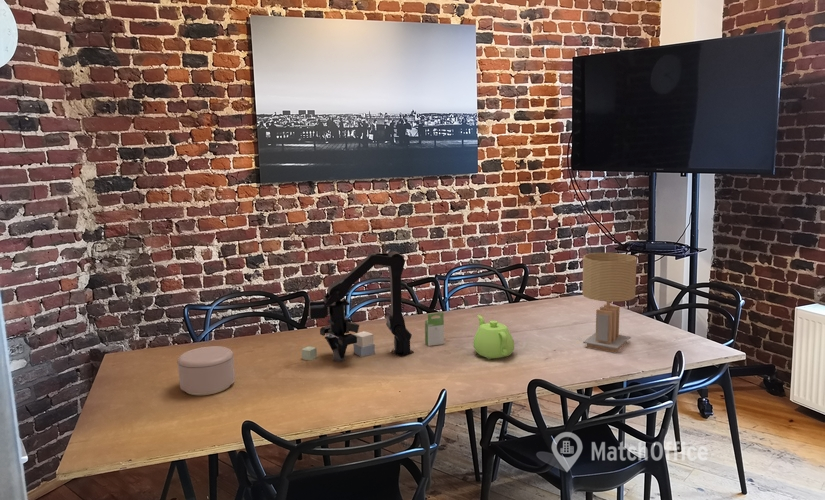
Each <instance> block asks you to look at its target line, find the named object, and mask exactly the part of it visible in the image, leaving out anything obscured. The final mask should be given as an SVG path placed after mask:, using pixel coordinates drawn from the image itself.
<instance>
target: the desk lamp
mask: <svg viewBox="0 0 825 500" xmlns="http://www.w3.org/2000/svg"><path fill="white" fill-rule="evenodd" d="M637 261H638V257H636V256H635V255H631V254H627V253H618V252H592V253H587V254H585V255H583V257H582V288H581V289H582V296H583V297H584V298H587V299H589V300H594V301H595V300H596V301H600V302H606V304H603V306H601V307H599V309H596V313H595V315H596V316H595V333H593V334H592V335H590V336H589V337H588V338H586V339H584V340H583V341H582V343H583V344H586V348H588V349H589V348H590V349H595V350H601V351H605V352H610V353H617V352H618V351H619V350H620V349H622V348H623V347H624V346H625V345H626V344H627V343H628V342H629V340H630V339H631V338H632V336H628V335H622V334H620V309H621V306H618V305H611V302H617V303H618V302H628V301H631V300H634V299H635V298H636V290H637V289H636V285H637Z"/></svg>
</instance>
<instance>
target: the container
mask: <svg viewBox="0 0 825 500" xmlns="http://www.w3.org/2000/svg"><path fill="white" fill-rule="evenodd" d="M234 360H235V359H234V352H233V351H232V349H230V348H228V347H225V346H220V345H219V346H218V345H217V346H216V345H215V346H214V345H213V346H212V345H211V346H202V347H197V348H193V349H191V350H187V351H185V352H183V353H182V354H181V355H180V356H179V357H178V358H177V366H178V367H177V368H178V369H177V370H178V378H179V388H180V390H182V391H183V392H186V393H187V394H189V395H192V396H208V395H213V394H218V393H221V392H224V391H225V390H227V389H229V388H230V386H232V384H233V383H234V382H235V381H236V373H235V361H234Z"/></svg>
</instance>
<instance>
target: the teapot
mask: <svg viewBox="0 0 825 500" xmlns="http://www.w3.org/2000/svg"><path fill="white" fill-rule="evenodd" d="M477 317H478V322H479V323H478V325H479V326H478V329H477V331H476V332H475V335H474V339H473V342H472V343H473V348H474V350H475V352H476V353H477V354H478V355H480V356H482V357H484V358H486V359H487V360H493V359H498V358H506V357H509V356H510V355H511V354H512V353H514V350H515V343H514V338H513V336H512V334H511V332H510V329H509V328H508V326H506V325H505V324H504V323H501V322H499V321H497V320H490V321H489V322H487V323H485V319H484V318H483V316H482V315H480V314H477Z"/></svg>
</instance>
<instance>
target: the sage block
mask: <svg viewBox="0 0 825 500" xmlns="http://www.w3.org/2000/svg"><path fill="white" fill-rule="evenodd" d="M317 350H318V349H317V347H314V346H310V345H309V346H306V347H304V348H302V349H301V360H305V361H313V360H314V359H317V358H318V352H317Z"/></svg>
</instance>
